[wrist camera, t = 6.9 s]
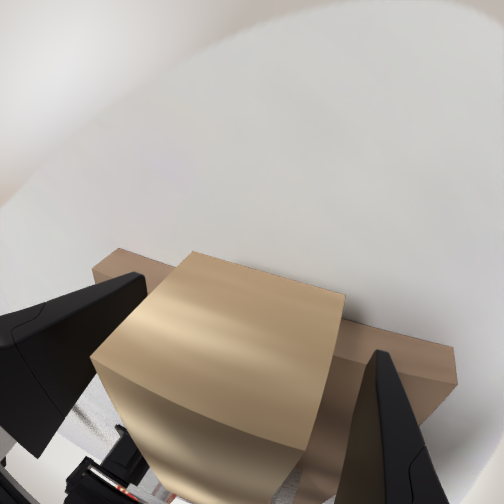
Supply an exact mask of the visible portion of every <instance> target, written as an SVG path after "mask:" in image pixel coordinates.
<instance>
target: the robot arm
mask: <svg viewBox="0 0 504 504" xmlns="http://www.w3.org/2000/svg"><path fill="white" fill-rule="evenodd" d="M147 295H148V292H147V285H146V278H145V276H144V275H143V274H141V273H138V272H135V271H133V272H130V273H127V274H124V275H121V276H118V277H115V278H112V279H109V280H106V281H103V282H101V283H98V284H95V285H92V286H89V287H86V288H83V289H80V290H77V291H75V292H72V293H69V294H66V295H63V296H60V297H58V298H55V299H52V300H49V301H47V302H43V303H41V304H38V305H35V306H32V307H29V308H26V309H23V310H19V311H16V312H12V313H9V314H5V315H1V316H0V504H40V503H39V502H38V501H37V500H35V499H34V498H33V497H32V496H31V495H30V494H29V493H28V492H27V491H26V490H25V489H24V488H23V487H22V486H21V485H20V484H19V483H18V482H17V481H16V480H15V479H14V478H13V477H12V476H11V475H10V474H9V473H8V471H7V470H6V469H5V468H4V467H5V466H6V454H7V453H8V452H9V451H10V450H11V448H12V447H13V446H14V445H15V443H16V442H18V443H19V444H20V445H21V446H22V447H24V448H25V449H26V450H27V451H28V452H29V453H31V454H32V455H33V456H34V457H36V458H37V459H38V458H39V457H40V456H41V454H42V453H43V451H44V450H45V448H46V447H47V445H48V443H49V442H50V440H51V439H52V437H53V436H54V434H55V433H56V431H57V430H58V428H59V427H60V425H61V424H62V422H63V421H64V419H65V417H66V416H67V415H68V413H69V412H70V410H71V409H72V407H73V406H74V405H75V403H76V402H77V400H78V399H79V397H80V396H81V394H82V393H83V392H84V390H85V389H86V387H87V386H88V384H89V383H90V382H91V380H92V379H93V377H94V376H95V375H96V373H97V372H96V369H95V367H94V365H93V363H92V361H91V358H90V356H91V355H92V354H93V353H94V352H95V351H96V350H97V348H98V347H99V346H100V345H101V344H102V343H103V342H104V341H105V340H106V339H107V338H108V337H109V336H110V335H111V334H112V333H113V332H114V330H115V329H116V328H117V327H118V326H119V325H120V324H121V323H122V322H123V321H124V320H125V319H126V318H127V317H128V316H129V315H130V314H131V313H132V312H133V311H134V310H135V309H136V308H137V307H138V306H139V305H140V304H141V302H142V301H143V300H144V299H145V298H146V297H147ZM115 429H116V430H117V432H118V433H119V435H120V436H121V437H120V438H119V439H118V441H117V442H116V443H115V445H114V446H113V448H112V449H111V450H110V452H109V453H108V454H107V456H106V457H105V459H104V460H103V461H102V463H101V464H100V465H98V464H97V463H95V462H94V461H93V460H92V459H91V458H89V457H87V456H86V457H85V458H84V459H83V461H82V462H81V463H80V464H79V466H78V467H77V468H76V469H75V470H74V471H73V472H72V473H71V475H70V476H69V477H68V478H67V479H66V483H67V486H66V490H65V493H66V494H68V496H67V497H66V498H65V500H64V503H63V504H143V503H142V502H140V501H139V500H138V501H136V500H135V499H133V498H131V497H130V496H128V495H127V494H125V493H123V492H122V491H120V490H119V489H117V488H116V487H114V486H113V485H111V484H110V483H108V482H106V481H105V480H104V479H102V478H101V477H99V476H98V475H96V474H95V473H94V472H92V471H91V470H90V469H91V468H93V469H95V470H96V471H98V472H99V473H100V474H102V475H103V476H105V477H106V478H108V479H109V480H111V481H112V482H114V483H115V484H117V485H118V486H120V487H121V488H123V489H124V490H126V489H127V488H128V486H129V485H130V483H131V484H133V485H135V486H136V487H137V486H138V485H139V483H140V482H141V480H142V479H143V477H144V476H145V474H146V473H147V471H148V470H149V468H150V466H149V464H148V463H147V461H146V460H145V458H144V457H143V455H142V454H141V452H140V450H139V449H138V447H137V446H136V444H135V442H134V441H133V439H132V437H131V436H130V434H129V432H128V431H127V430H125V429H124V428H122V427H120V426H119V425H117V424H116V425H115ZM126 491H127V490H126ZM127 492H128V491H127ZM334 504H449V502H448V499H447V497H446V495H445V493H444V490H443V488H442V486H441V484H440V481H439V479H438V477H437V474H436V472H435V469H434V467H433V464H432V461H431V458H430V456H429V453H428V450H427V447H426V446H425V442H424V439H423V436H422V433H421V430H420V428H419V425H418V422H417V420H416V417H415V414H414V412H413V409H412V407H411V404H410V401H409V399H408V396H407V394H406V391H405V389H404V387H403V384H402V382H401V379H400V377H399V374H398V372H397V370H396V367H395V365H394V363H393V360H392V358H391V356H390V353H389V352H388V351H384V350H380V349H376V350H375V351H374V352H373V354H372V356H371V358H370V360H369V362H368V363H367V365H366V367H365V370H364V374H363V378H362V382H361V386H360V390H359V393H358V397H357V401H356V404H355V408H354V412H353V416H352V421H351V427H350V432H349V438H348V443H347V449H346V454H345V459H344V464H343V468H342V473H341V477H340V482H339V486H338V490H337V494H336V498H335V502H334Z"/></svg>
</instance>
